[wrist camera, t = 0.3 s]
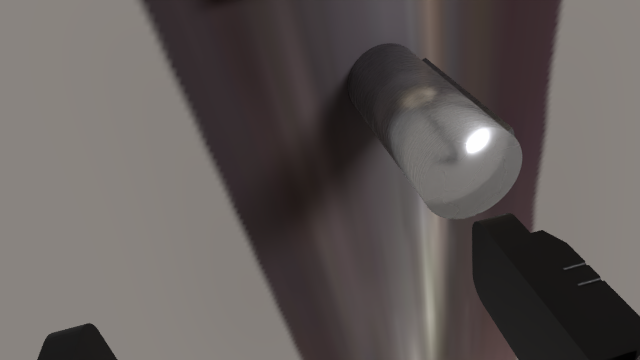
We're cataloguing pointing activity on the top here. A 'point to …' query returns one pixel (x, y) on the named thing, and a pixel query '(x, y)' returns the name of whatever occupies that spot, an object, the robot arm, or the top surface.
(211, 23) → the top surface
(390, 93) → the grey cylinder
